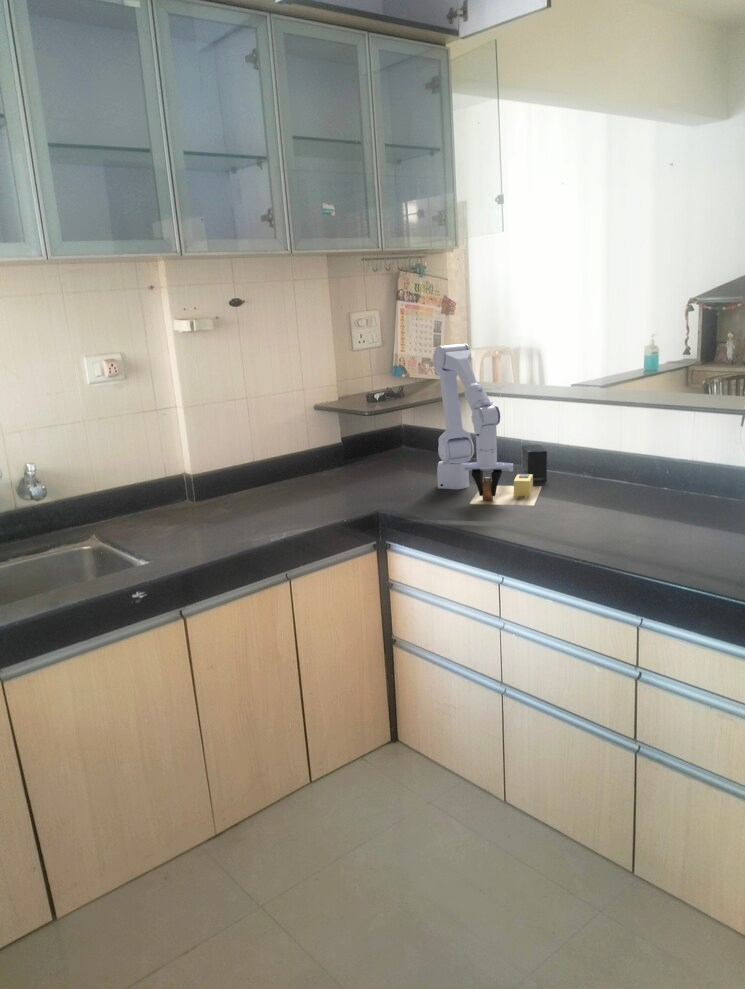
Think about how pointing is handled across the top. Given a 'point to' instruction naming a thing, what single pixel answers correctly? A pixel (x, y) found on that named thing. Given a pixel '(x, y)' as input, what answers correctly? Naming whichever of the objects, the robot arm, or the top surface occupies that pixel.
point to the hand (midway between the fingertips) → (487, 495)
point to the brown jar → (487, 489)
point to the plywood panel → (508, 497)
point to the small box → (534, 462)
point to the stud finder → (523, 485)
